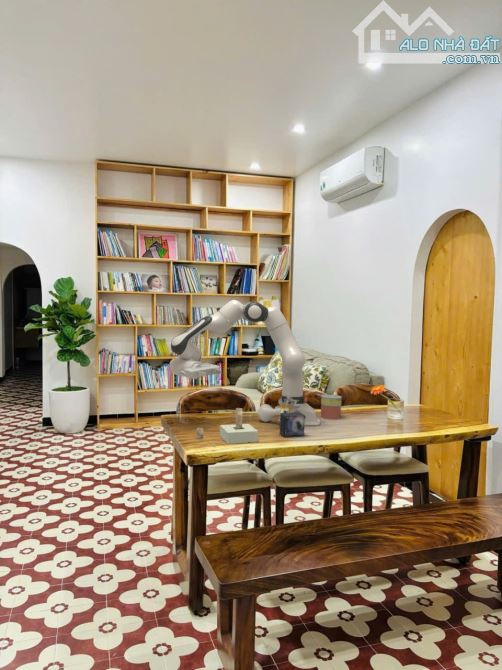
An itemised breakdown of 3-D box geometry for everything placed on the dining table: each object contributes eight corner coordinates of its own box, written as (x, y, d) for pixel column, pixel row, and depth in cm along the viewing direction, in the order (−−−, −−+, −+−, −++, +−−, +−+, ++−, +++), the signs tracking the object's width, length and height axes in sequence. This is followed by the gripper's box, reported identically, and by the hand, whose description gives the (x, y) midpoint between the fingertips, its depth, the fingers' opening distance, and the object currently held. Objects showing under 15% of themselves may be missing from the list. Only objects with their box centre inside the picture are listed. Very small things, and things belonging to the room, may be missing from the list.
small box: (283, 437, 225) (284, 415, 225) (279, 434, 231) (279, 412, 231) (304, 436, 228) (305, 414, 227) (299, 433, 234) (300, 411, 234)
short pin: (203, 437, 222) (203, 428, 221) (202, 439, 219) (202, 429, 218) (197, 437, 222) (197, 427, 222) (195, 439, 219) (196, 429, 219)
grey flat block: (248, 434, 230) (248, 423, 230) (257, 442, 217) (258, 431, 216) (219, 435, 226) (220, 425, 225) (227, 444, 212) (227, 432, 212)
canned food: (342, 420, 264) (343, 398, 263) (321, 419, 264) (322, 398, 264) (339, 415, 275) (339, 394, 275) (319, 415, 276) (320, 394, 275)
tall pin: (242, 438, 222) (242, 408, 222) (241, 439, 219) (242, 409, 219) (235, 437, 223) (236, 407, 222) (234, 439, 220) (235, 409, 219)
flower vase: (258, 435, 254) (292, 432, 236) (248, 401, 255) (281, 396, 236) (275, 426, 263) (309, 424, 245) (266, 394, 263) (298, 389, 245)
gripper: (178, 365, 236) (197, 369, 227) (208, 361, 251) (227, 364, 242) (178, 378, 236) (197, 382, 227) (208, 373, 252) (227, 377, 243)
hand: (213, 373), depth 235 cm, fingers open, 8 cm apart
